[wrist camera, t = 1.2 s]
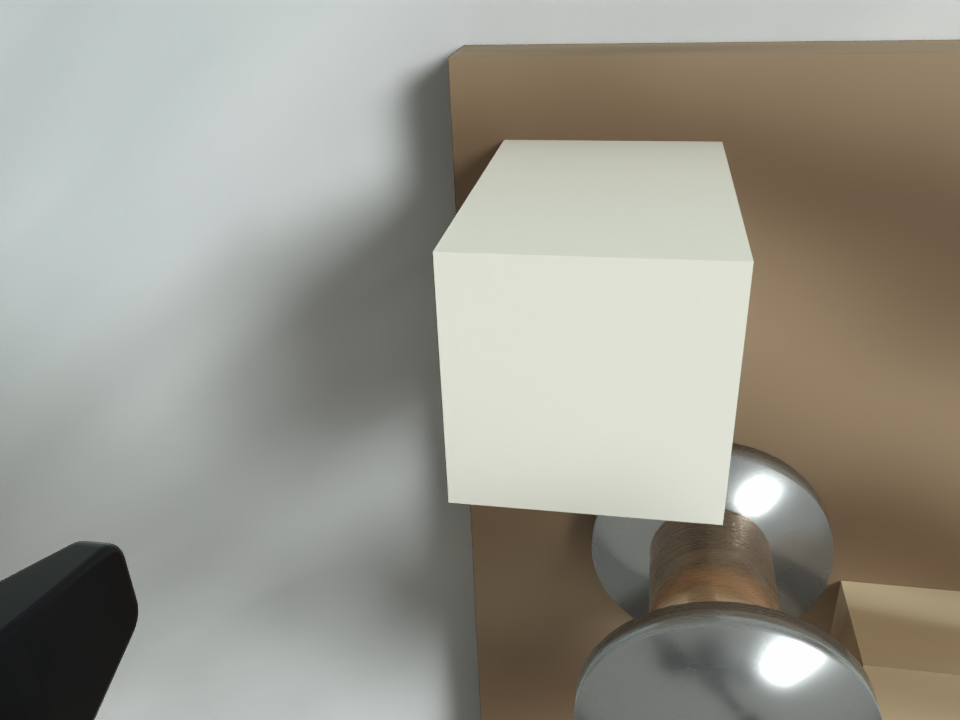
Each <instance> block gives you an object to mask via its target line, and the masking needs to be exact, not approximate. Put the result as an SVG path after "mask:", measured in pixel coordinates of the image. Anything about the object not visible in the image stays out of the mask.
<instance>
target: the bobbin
mask: <svg viewBox="0 0 960 720" xmlns="http://www.w3.org/2000/svg"><path fill="white" fill-rule="evenodd" d="M591 545H592V558H593V563H594V567H595V570H596V573H597V575H598V578H599V580H600V582H601V583H602V585H603V587H604V589H605V590H606V592H607V593H608V594H609V595H610V597H611V598H612V599H613V600H614V601H615V602H616V603H617V604H618V605H619V606H620V607H621V608H622V609H623V610H624V611H625V612H627V613H628V614H629V615H630V616H632V617H633V618H634V619H632V620H630V621H628V622H626V623H624V624H622V625H621V626H619V627H618V628H617V629H615V630H614V631H612V632H611V633H610V634H608V635H607V636H606V637H605V638H604V639H603V640H602V641H601V642H600V643H599V644H598V645H597V646H596V647H595V648H594V650H593V651H592V652H591V653H590V655H589V656H588V658H587V659H586V661H585V663H584V665H583V667H582V669H581V672H580V675H579V678H578V682H577V690H576V699H575V708H574V718H573V720H882V717H881V713H880V710H879V706H878V702H877V699H876V695H875V691H874V688H873V686H872V684H871V681H870V679H869V677H868V675H867V673H866V672H865V670H864V669H863V667H862V666H861V664H860V663H859V661H858V660H857V659H856V658H855V657H854V656H853V655H852V654H851V653H850V651H849V650H848V649H847V648H846V647H844V646H843V645H842V644H841V643H840V642H838V641H837V640H836V639H835V638H834V637H832V636H831V635H829V634H828V633H826V632H824V631H823V630H821V629H820V628H818V627H816V626H815V625H813V624H810V623H808V622H806V621H804V620H802V619H800V618H798V617H799V616H800V615H801V614H803V613H804V612H805V611H806V610H808V609H809V607H810V606H811V605H812V604H813V603H814V602H815V601H816V600H817V599H818V597H819V596H820V594H821V593H822V591H823V590H824V588H825V586H826V584H827V582H828V580H829V578H830V574H831V571H832V567H833V560H834V544H833V538H832V534H831V530H830V526H829V522H828V519H827V515H826V511H825V509H824V507H823V504H822V502H821V500H820V498H819V496H818V495H817V493H816V492H815V490H814V489H813V487H812V486H811V485H810V484H809V483H808V482H807V480H806V479H805V478H804V477H803V476H802V475H800V474H799V473H798V472H797V471H796V470H795V469H793V468H792V467H791V466H789V465H788V464H786V463H785V462H783V461H782V460H780V459H778V458H776V457H774V456H772V455H770V454H768V453H766V452H763V451H760V450H757V449H755V448H752V447H748V446H744V445H740V444H735V443H732V451H731V460H730V468H729V477H728V486H727V494H726V503H725V511H724V520H723V525H715V524H703V523H691V522H679V521H666V520H654V519H642V518H630V517H618V516H606V515H595V517H594V525H593V535H592V544H591Z"/></svg>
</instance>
